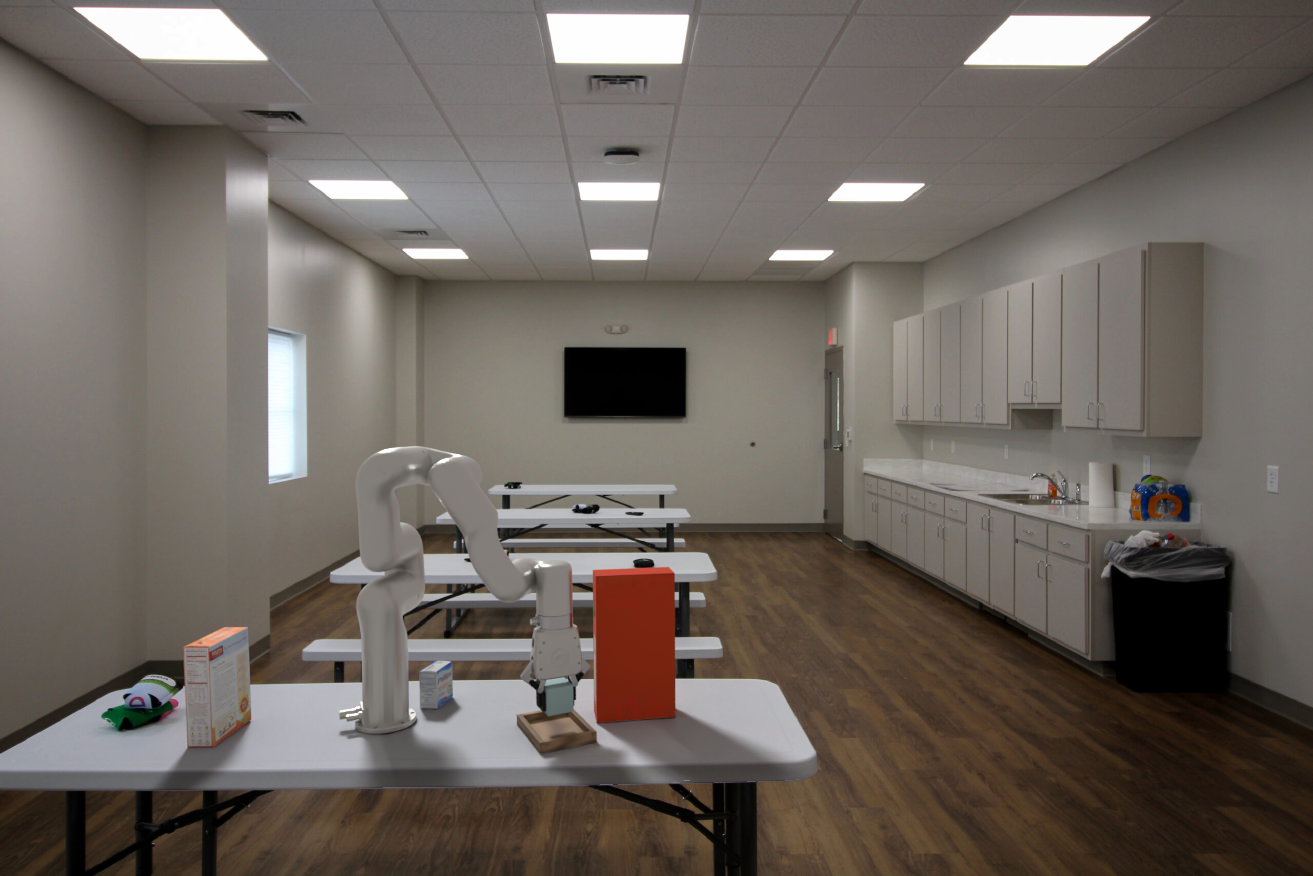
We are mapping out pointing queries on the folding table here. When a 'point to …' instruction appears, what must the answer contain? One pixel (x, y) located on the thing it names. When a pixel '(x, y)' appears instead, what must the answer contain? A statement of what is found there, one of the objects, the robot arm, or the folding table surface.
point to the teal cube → (558, 696)
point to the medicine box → (436, 684)
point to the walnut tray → (555, 730)
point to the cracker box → (217, 686)
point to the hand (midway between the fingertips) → (556, 705)
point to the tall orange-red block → (634, 643)
